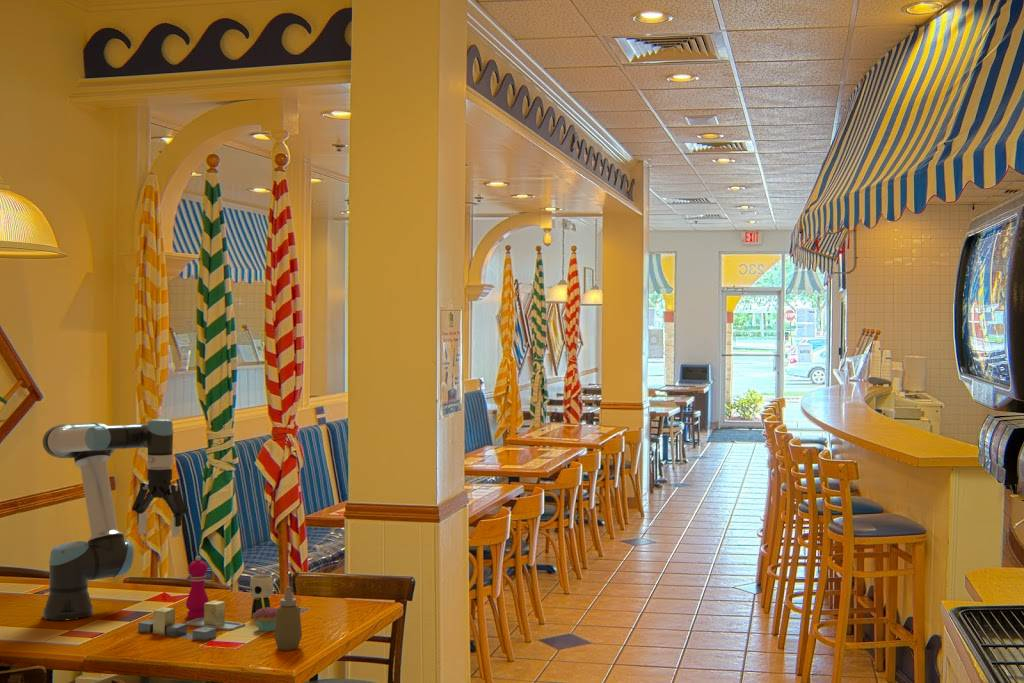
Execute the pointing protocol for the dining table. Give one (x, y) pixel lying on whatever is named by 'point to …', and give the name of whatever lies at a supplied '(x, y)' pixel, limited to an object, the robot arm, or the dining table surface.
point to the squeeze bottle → (288, 623)
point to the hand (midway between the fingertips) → (158, 535)
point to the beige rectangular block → (214, 613)
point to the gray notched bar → (180, 631)
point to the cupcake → (265, 617)
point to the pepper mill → (197, 589)
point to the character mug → (261, 591)
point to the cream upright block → (163, 620)
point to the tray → (226, 626)
